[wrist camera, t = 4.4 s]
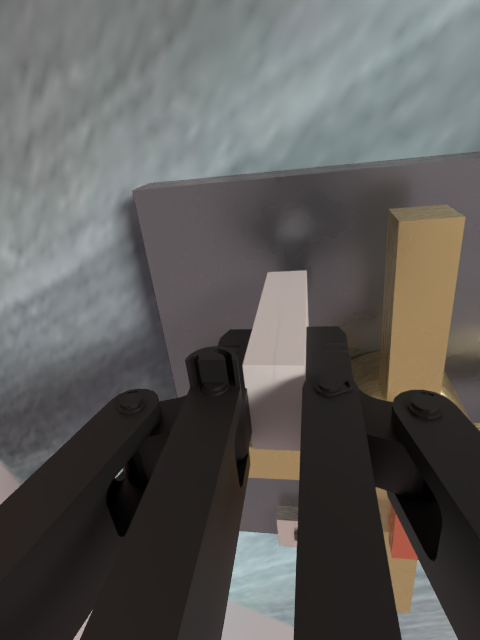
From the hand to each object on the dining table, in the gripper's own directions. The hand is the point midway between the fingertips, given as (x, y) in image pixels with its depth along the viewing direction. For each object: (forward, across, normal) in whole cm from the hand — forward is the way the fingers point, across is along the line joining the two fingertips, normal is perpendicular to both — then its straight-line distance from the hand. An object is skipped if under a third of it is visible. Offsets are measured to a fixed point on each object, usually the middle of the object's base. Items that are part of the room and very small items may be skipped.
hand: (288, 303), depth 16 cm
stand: (+4, +4, -6) cm, 9 cm away
